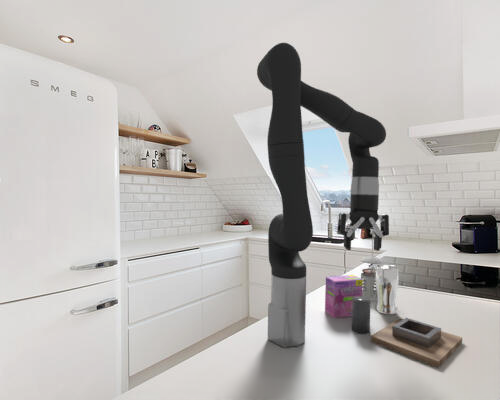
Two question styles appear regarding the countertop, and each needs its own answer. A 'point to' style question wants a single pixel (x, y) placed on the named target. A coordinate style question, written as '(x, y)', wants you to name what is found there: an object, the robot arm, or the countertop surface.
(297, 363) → the countertop surface
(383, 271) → the beer glass
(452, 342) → the mount
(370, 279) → the french press
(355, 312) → the grey rounded cylinder
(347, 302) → the box
